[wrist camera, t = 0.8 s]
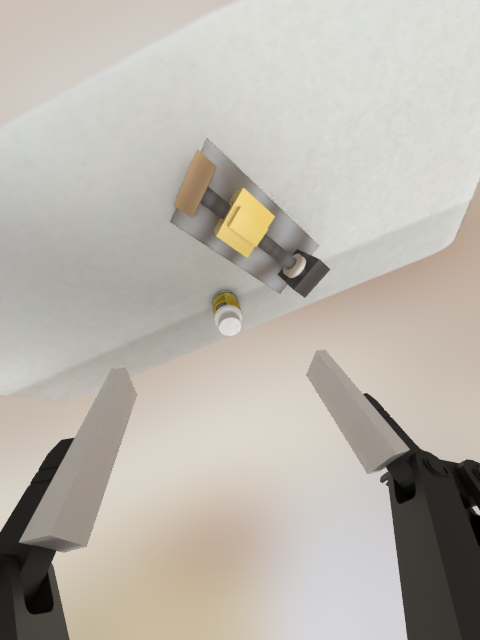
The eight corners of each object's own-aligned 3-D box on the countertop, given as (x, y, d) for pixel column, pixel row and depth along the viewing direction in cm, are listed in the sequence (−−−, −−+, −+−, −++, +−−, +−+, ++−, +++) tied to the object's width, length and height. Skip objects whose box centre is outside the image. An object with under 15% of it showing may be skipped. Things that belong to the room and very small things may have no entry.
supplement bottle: (221, 285, 36) (227, 308, 28) (241, 297, 39) (252, 322, 31) (207, 304, 38) (209, 331, 30) (227, 315, 40) (234, 343, 32)
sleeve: (213, 230, 27) (217, 238, 20) (235, 190, 25) (247, 186, 18) (239, 249, 29) (250, 262, 22) (261, 214, 27) (281, 217, 20)
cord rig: (170, 221, 28) (160, 227, 21) (207, 139, 24) (209, 111, 17) (278, 292, 40) (296, 312, 32) (317, 245, 35) (347, 255, 28)
